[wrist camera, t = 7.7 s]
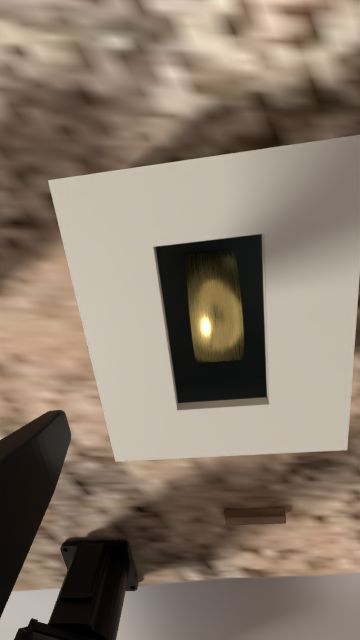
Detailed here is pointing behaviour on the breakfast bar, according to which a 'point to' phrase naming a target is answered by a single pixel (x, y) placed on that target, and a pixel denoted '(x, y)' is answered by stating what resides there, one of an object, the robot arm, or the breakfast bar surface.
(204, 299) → the coin
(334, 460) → the breakfast bar surface
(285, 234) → the box
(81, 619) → the robot arm
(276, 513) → the coin stand
